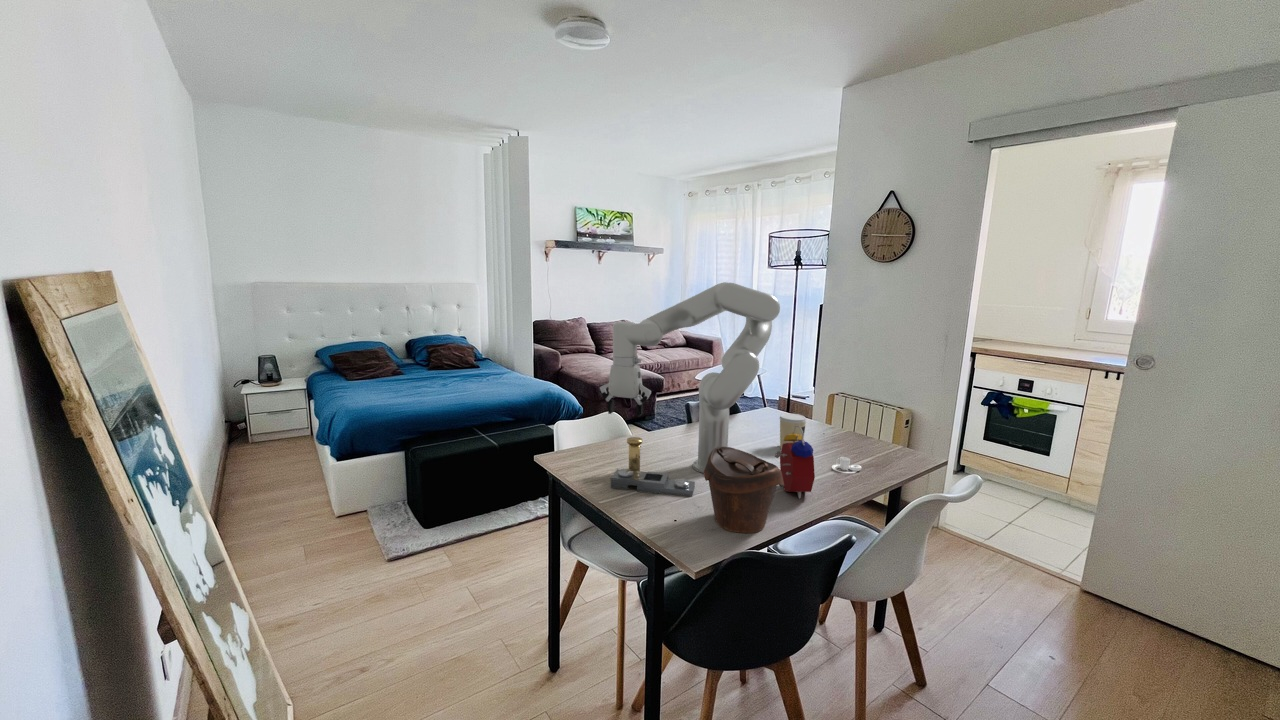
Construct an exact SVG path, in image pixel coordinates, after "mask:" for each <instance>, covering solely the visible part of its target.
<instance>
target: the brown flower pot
mask: <svg viewBox="0 0 1280 720" xmlns="http://www.w3.org/2000/svg"><path fill="white" fill-rule="evenodd" d="M703 475H704V480H705V481H706V482H707V481H708V484H709V485H708V487H709V492H710V497H711V503H712V508H713V514H714V515H713V516H714V519H715V521H716V523H717V525H718V526H720V527H722V529H724V530H727V531H729V532H734V533H739V534H740V533H741V534H754V533H758V532H760V531H762V530H763V529H764V528H765V527H766V524H767V519H768V515H769V513H770V509H771V506H772V503H773V500H774V496H775V493H776V488H777V487H778V486H779V487H780V488H784V482H783V477H782V472H781V470H780V468H779V466H777V465H776V464H773V463H771V462H769V461H767V460H764V459H762V458H760V457H757V456H755V455H753V454H752V453H748V452H746V451H743V450H740V449H739V448H738V449H737V448H734V447H731V446H728V447H725V446H722V447H717V448H715V449H714V450H713V451H712V452H711V453H710V455H709V457H708V461H707V464H706V467H705V469H704V473H703Z"/></svg>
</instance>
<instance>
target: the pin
mask: <svg viewBox="0 0 1280 720" xmlns="http://www.w3.org/2000/svg"><path fill="white" fill-rule="evenodd" d="M626 439H627V440H626V443H627V444H628V469H631V470H632V471H641V445H642V444H643V438H641V437H638V436H632V437H628V438H626Z"/></svg>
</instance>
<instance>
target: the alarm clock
mask: <svg viewBox="0 0 1280 720" xmlns="http://www.w3.org/2000/svg"><path fill="white" fill-rule="evenodd" d="M796 427H799V429H800V431H801V433H802V436H801V435H799V434H795V432H796ZM784 441H793V443H785V444H783V445H782V448H781V451H779V450H778V451H776V452H775V455H774V457H775V458H776V459H778V458H779V464H780V465H779V466H780V467H779V470H781V472H782V477H783V482H784V487H783V489H784V491H785V492H790V493H791V492H792V493H793V492H794V493H797V497H798V499H802V493H811V492H812V489H813V486H814V482H815V477H816V476H815V462H814V461H815V459H814V458H815V457H814V448H813V447H812V445H811V444H810V443H809V442H808V441H805V439H803V432H802V430H801V428H800V426H795V428H794V431H793V433H792V434H788V435H786V436H785V438H784ZM795 441H798V442H795Z"/></svg>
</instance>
